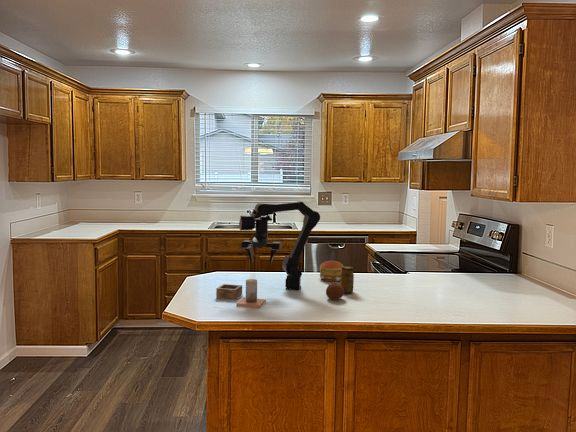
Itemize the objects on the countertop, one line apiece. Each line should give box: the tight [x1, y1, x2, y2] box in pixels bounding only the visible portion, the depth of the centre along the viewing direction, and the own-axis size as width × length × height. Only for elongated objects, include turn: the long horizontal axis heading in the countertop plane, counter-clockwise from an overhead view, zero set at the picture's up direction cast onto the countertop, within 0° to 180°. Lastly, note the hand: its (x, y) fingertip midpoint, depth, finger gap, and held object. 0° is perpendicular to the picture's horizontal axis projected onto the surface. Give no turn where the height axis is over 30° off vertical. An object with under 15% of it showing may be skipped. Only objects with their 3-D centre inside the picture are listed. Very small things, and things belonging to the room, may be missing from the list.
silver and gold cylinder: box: [245, 278, 258, 303], centre depth 224 cm, size 5×5×9 cm
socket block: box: [215, 283, 243, 301], centre depth 236 cm, size 9×9×4 cm
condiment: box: [339, 265, 358, 296], centre depth 246 cm, size 7×8×12 cm
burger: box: [319, 260, 345, 282], centre depth 274 cm, size 13×14×10 cm
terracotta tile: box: [235, 297, 267, 309], centre depth 224 cm, size 10×10×1 cm
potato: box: [325, 282, 345, 300], centre depth 235 cm, size 8×11×8 cm
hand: (261, 263), depth 248 cm, fingers open, 9 cm apart
